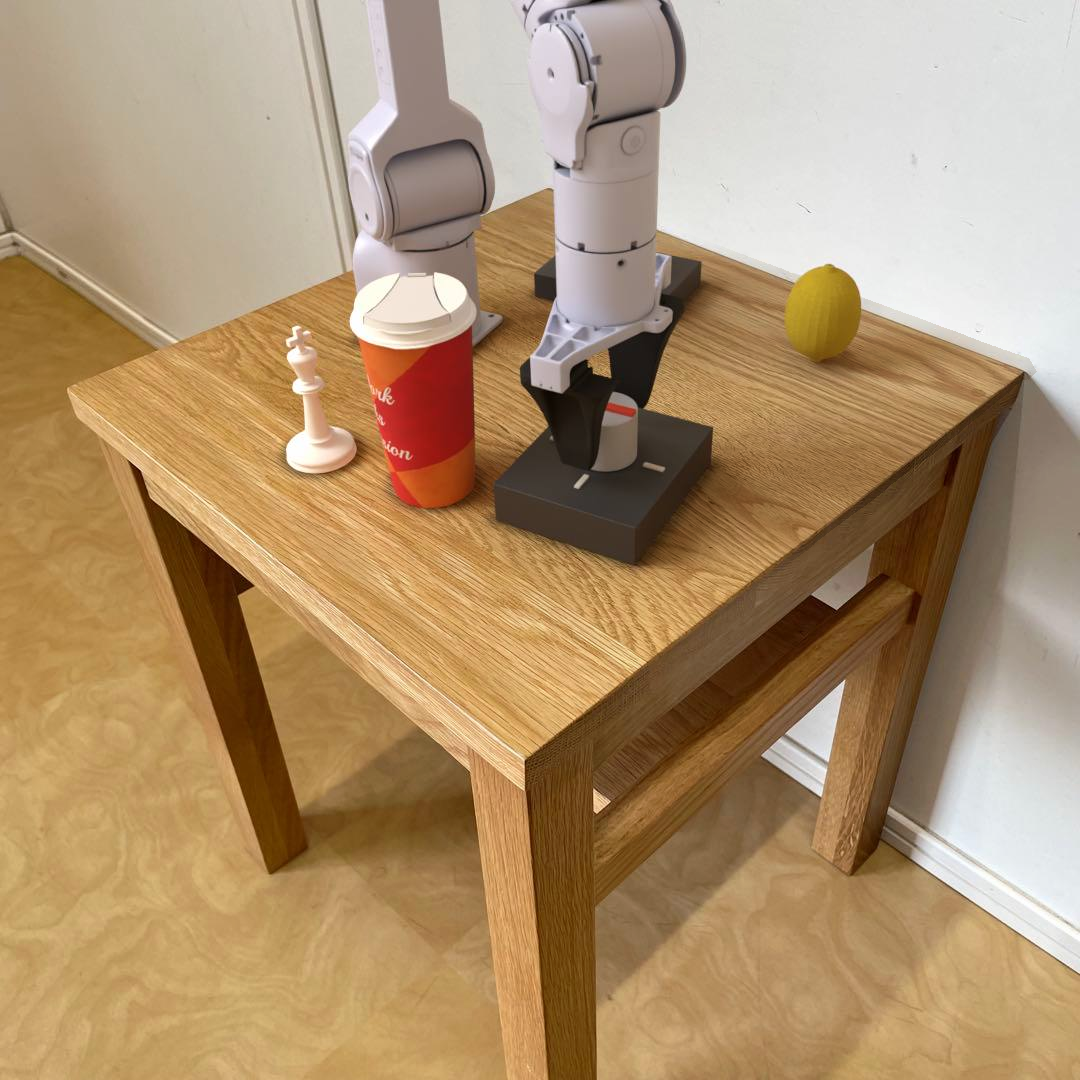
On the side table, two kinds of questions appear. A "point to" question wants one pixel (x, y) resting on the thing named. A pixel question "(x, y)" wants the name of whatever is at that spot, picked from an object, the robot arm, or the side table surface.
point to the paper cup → (421, 382)
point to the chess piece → (314, 417)
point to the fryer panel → (606, 489)
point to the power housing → (681, 286)
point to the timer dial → (618, 434)
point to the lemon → (823, 312)
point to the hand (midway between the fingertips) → (605, 432)
